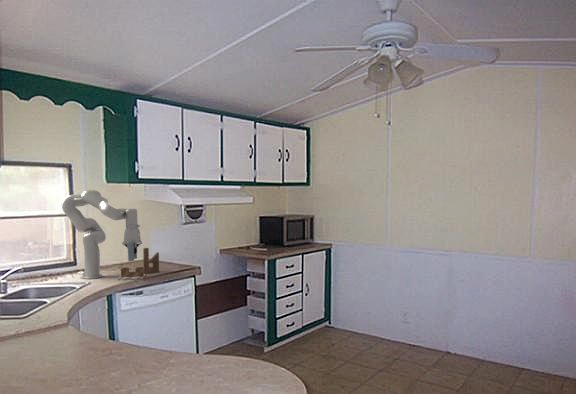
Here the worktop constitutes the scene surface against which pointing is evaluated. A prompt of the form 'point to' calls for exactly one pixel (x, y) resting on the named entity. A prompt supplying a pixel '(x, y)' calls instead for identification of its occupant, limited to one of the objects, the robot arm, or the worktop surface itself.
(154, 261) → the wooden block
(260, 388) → the worktop surface
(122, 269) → the slotted base
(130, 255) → the slotted plate
